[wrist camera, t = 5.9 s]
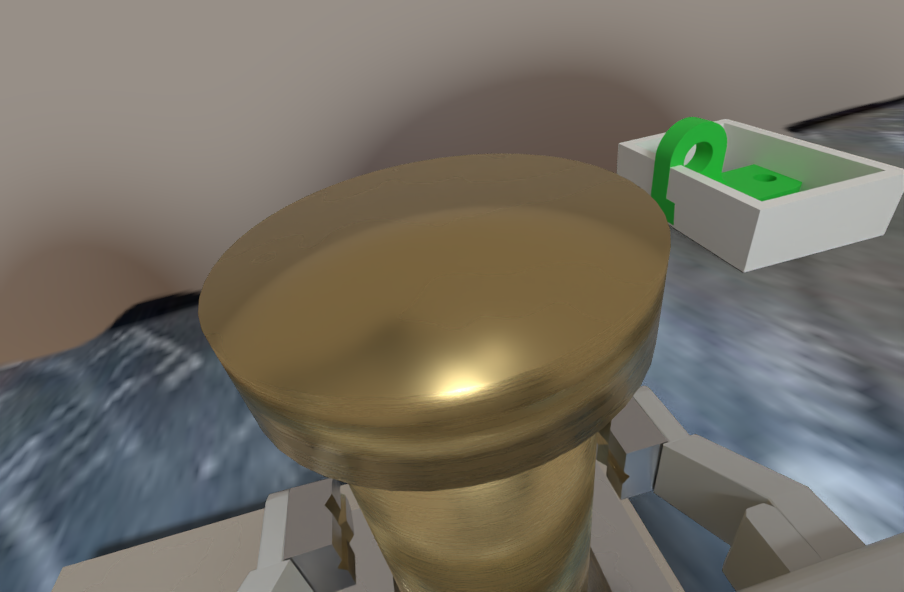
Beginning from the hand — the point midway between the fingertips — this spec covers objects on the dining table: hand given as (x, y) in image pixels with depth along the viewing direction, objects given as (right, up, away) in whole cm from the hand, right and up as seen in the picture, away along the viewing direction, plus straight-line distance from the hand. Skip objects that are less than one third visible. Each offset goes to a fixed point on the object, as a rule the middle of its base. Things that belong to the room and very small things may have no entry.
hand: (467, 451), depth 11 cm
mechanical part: (+25, +12, +30) cm, 41 cm away
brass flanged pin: (+2, -8, +5) cm, 10 cm away
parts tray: (+25, +12, +30) cm, 41 cm away
